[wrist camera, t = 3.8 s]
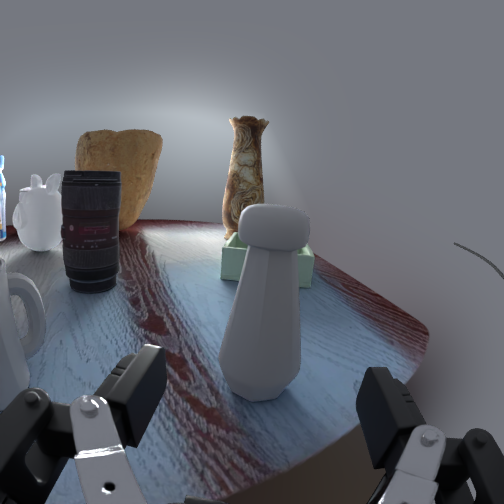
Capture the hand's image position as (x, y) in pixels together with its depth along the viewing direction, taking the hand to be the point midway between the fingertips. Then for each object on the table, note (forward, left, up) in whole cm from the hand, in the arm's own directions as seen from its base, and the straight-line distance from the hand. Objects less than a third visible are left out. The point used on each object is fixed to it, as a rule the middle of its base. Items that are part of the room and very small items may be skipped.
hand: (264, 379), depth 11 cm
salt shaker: (-6, -6, -7) cm, 11 cm away
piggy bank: (+7, -54, -7) cm, 55 cm away
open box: (-27, -27, -7) cm, 39 cm away
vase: (-40, -50, -7) cm, 64 cm away
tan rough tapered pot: (-13, -68, -7) cm, 70 cm away
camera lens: (0, -32, -7) cm, 33 cm away
